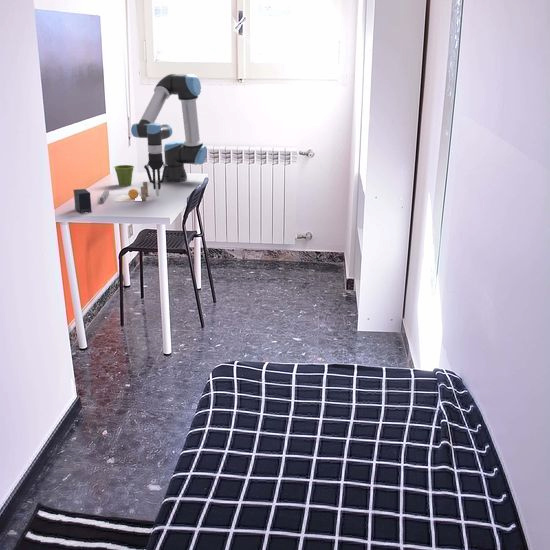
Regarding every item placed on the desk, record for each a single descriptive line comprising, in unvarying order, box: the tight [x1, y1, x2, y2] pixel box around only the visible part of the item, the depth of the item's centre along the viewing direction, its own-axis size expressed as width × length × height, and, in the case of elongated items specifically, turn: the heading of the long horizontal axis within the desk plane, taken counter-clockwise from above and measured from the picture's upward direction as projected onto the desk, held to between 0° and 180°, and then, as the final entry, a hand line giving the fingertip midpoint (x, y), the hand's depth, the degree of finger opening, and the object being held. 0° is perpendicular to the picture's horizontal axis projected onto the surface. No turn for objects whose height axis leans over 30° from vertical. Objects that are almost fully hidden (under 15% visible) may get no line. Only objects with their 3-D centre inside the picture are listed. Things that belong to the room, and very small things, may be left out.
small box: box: [73, 188, 92, 214], centre depth 343 cm, size 11×6×10 cm, turn 29°
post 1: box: [142, 181, 149, 197], centre depth 375 cm, size 2×2×8 cm
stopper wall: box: [99, 189, 110, 204], centre depth 368 cm, size 20×2×3 cm, turn 5°
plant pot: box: [113, 164, 135, 187], centre depth 400 cm, size 12×12×11 cm
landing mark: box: [115, 195, 135, 203], centre depth 370 cm, size 14×14×1 cm
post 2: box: [140, 185, 147, 202], centre depth 363 cm, size 2×2×8 cm
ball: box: [127, 188, 139, 199], centre depth 369 cm, size 6×6×6 cm
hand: (157, 195), depth 370 cm, fingers closed
